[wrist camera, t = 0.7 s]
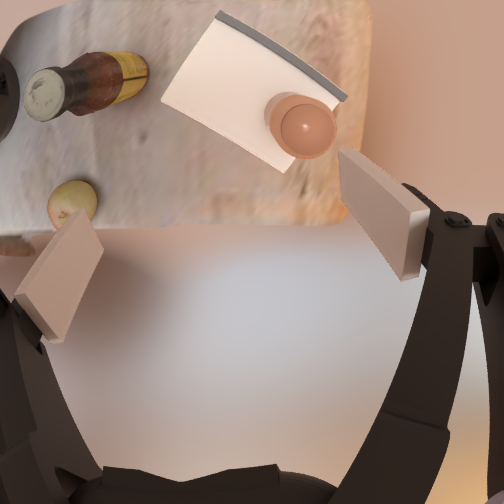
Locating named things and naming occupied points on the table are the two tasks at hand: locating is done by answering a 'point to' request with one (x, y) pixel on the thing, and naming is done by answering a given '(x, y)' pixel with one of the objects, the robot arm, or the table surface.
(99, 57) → the sauce bottle
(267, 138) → the white rectangular box
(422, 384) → the robot arm
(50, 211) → the fruit
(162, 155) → the table surface
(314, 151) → the terracotta jar
